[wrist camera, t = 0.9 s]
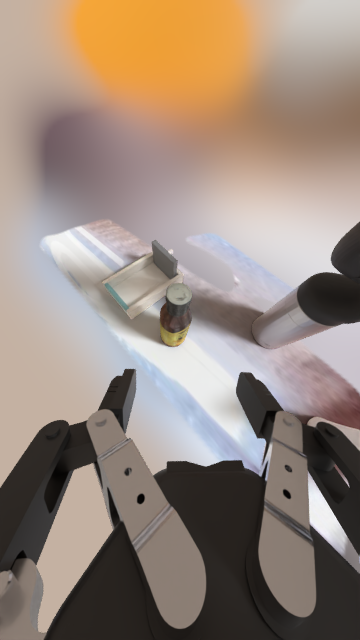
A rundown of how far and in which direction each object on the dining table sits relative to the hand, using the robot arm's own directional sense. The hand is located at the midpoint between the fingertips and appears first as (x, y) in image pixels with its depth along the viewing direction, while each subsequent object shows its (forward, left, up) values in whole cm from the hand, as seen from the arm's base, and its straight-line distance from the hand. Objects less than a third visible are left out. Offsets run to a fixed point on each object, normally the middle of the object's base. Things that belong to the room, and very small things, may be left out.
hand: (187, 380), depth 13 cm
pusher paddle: (-19, -25, -27) cm, 42 cm away
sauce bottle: (-8, -9, -28) cm, 31 cm away
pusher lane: (-12, -25, -28) cm, 40 cm away
